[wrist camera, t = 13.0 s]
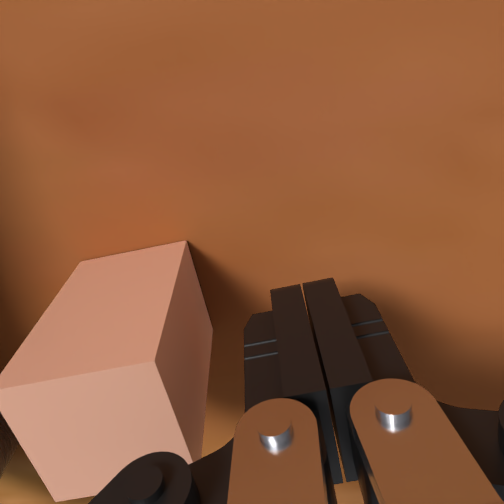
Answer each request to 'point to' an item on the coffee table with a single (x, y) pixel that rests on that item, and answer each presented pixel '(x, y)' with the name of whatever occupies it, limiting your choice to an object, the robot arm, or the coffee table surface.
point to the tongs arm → (6, 444)
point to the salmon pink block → (112, 370)
